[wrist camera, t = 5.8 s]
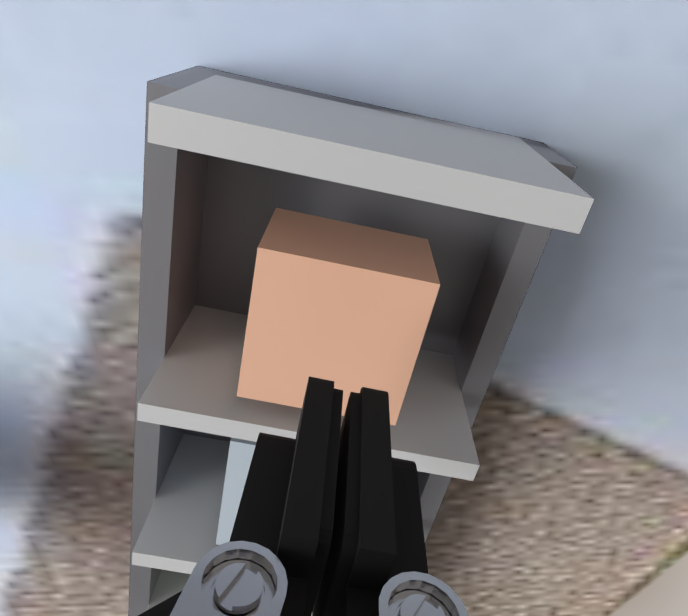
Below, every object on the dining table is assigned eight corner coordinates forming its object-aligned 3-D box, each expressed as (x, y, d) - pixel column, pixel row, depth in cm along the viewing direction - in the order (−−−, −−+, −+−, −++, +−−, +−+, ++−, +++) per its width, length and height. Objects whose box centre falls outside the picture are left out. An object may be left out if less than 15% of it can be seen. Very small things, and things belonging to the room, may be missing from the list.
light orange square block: (275, 207, 16) (257, 247, 13) (428, 239, 16) (440, 284, 13) (256, 338, 18) (236, 396, 15) (391, 364, 18) (395, 425, 15)
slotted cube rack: (197, 65, 17) (108, 93, 11) (543, 142, 18) (629, 207, 12) (156, 619, 30) (105, 766, 24) (356, 651, 31) (353, 801, 25)
